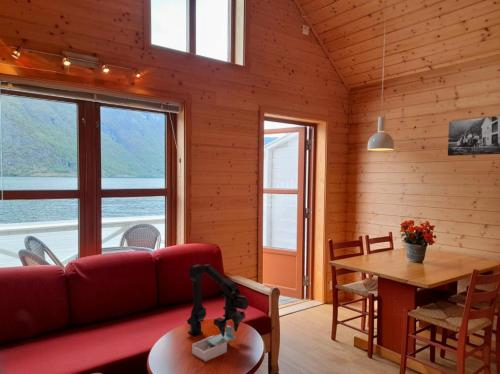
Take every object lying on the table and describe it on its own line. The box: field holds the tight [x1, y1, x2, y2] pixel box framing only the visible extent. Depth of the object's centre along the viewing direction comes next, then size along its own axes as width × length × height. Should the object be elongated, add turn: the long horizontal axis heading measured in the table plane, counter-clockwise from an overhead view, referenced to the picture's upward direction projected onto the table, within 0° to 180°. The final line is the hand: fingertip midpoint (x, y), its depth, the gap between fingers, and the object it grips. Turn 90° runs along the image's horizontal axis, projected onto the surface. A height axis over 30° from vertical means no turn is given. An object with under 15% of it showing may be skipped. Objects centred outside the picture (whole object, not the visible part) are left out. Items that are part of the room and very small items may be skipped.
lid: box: [206, 325, 237, 346], centre depth 187 cm, size 9×14×5 cm, turn 136°
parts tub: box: [191, 335, 228, 363], centre depth 182 cm, size 11×14×5 cm
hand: (229, 333), depth 192 cm, fingers open, 9 cm apart
